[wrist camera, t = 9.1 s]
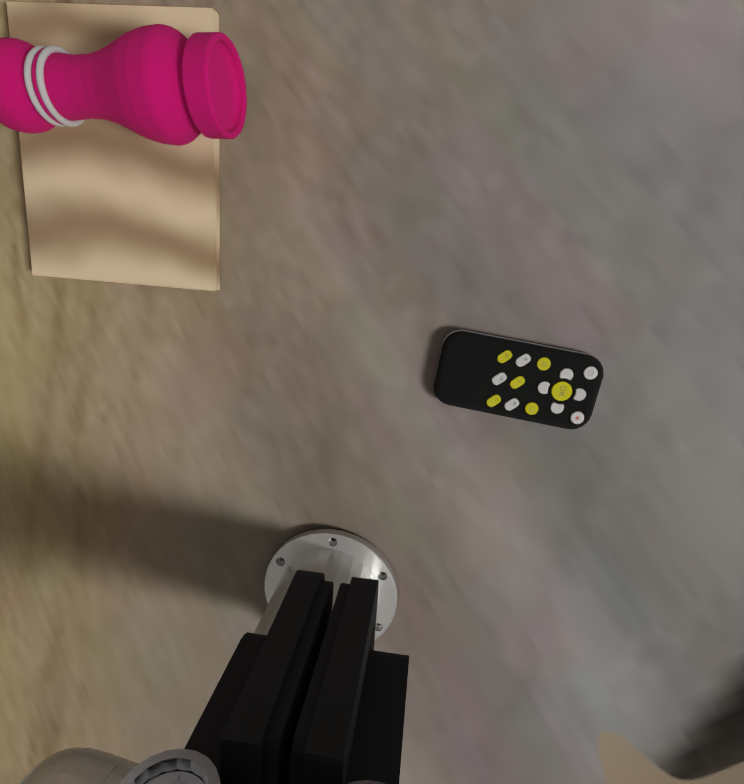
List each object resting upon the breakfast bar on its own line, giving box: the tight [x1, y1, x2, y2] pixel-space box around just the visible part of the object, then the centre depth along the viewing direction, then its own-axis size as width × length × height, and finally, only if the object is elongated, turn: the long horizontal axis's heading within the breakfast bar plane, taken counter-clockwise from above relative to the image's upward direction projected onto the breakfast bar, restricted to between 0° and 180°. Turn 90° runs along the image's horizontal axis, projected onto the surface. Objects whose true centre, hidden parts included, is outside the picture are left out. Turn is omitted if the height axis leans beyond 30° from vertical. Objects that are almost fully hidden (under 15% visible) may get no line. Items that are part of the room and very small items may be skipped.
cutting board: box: [6, 2, 220, 291], centre depth 43 cm, size 20×16×1 cm
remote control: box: [434, 330, 603, 429], centre depth 43 cm, size 6×13×2 cm, turn 80°
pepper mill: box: [0, 24, 247, 146], centre depth 38 cm, size 7×7×20 cm
